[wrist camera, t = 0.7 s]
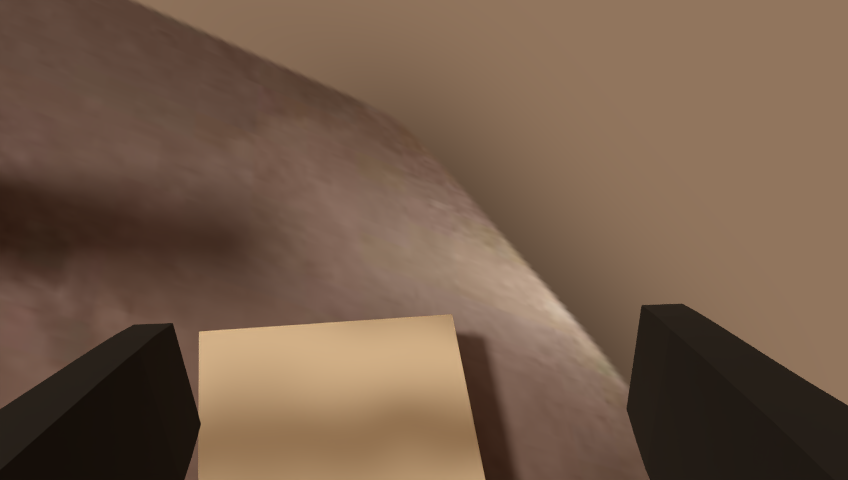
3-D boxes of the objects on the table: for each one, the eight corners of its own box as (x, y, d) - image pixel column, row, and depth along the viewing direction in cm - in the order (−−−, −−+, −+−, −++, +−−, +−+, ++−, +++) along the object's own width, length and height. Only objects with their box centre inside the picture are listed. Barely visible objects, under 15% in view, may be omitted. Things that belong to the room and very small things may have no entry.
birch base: (486, 583, 22) (506, 584, 20) (201, 647, 19) (196, 655, 17) (438, 330, 26) (451, 314, 25) (202, 348, 23) (199, 331, 21)
